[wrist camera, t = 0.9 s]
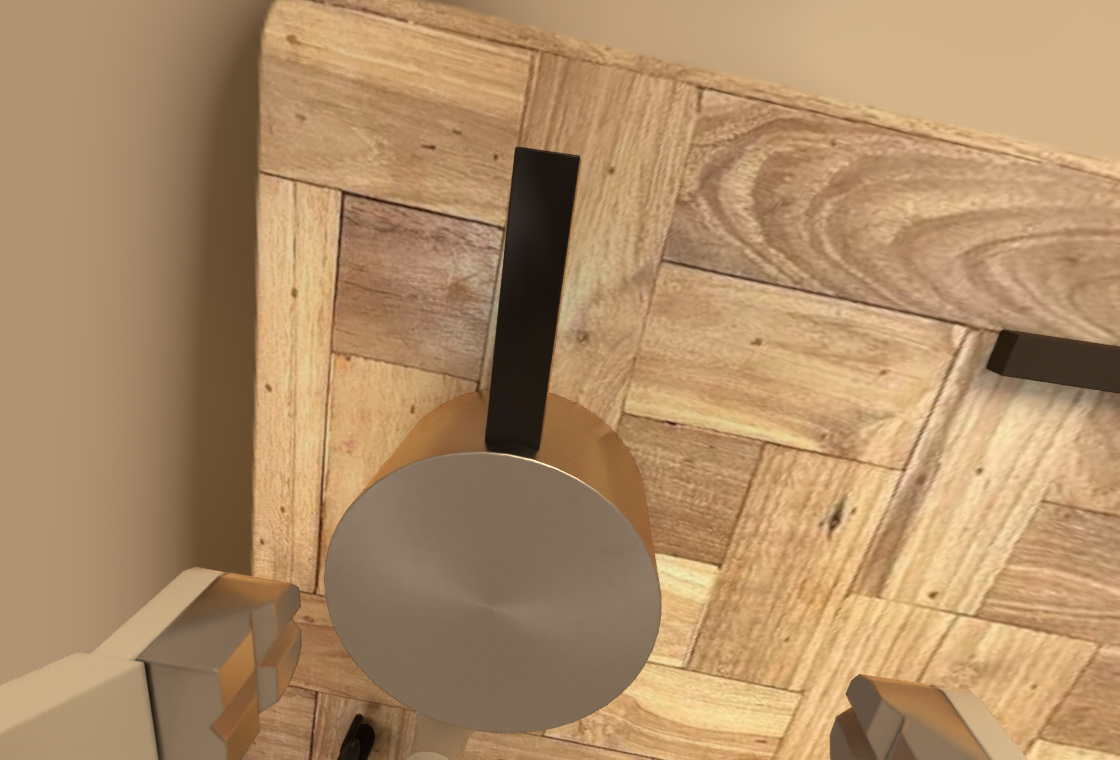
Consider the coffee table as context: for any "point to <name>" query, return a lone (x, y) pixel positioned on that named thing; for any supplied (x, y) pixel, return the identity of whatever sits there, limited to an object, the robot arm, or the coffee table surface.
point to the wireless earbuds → (357, 741)
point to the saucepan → (504, 523)
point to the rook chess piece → (438, 740)
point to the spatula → (1057, 361)
